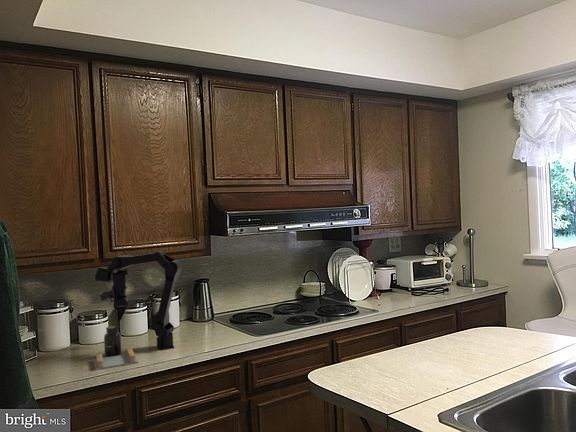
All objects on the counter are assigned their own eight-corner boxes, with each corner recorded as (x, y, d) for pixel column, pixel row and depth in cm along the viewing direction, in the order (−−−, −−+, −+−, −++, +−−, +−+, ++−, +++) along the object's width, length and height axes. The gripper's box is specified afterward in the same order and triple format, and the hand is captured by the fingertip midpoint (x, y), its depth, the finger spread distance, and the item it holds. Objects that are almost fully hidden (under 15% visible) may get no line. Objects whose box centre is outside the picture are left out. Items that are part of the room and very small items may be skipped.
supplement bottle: (103, 358, 198) (102, 329, 198) (105, 353, 205) (104, 326, 204) (121, 356, 200) (120, 328, 200) (122, 351, 207) (121, 324, 206)
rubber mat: (133, 354, 202) (133, 353, 202) (138, 363, 190) (138, 361, 190) (93, 360, 195) (93, 359, 195) (95, 370, 183) (95, 368, 183)
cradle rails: (131, 353, 201) (131, 347, 201) (135, 362, 189) (135, 355, 189) (96, 358, 195) (95, 353, 195) (98, 368, 183) (97, 361, 183)
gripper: (98, 280, 218) (97, 314, 218) (101, 288, 201) (100, 324, 201) (124, 280, 222) (122, 312, 223) (129, 287, 206) (127, 322, 206)
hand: (117, 317), depth 213 cm, fingers open, 9 cm apart
